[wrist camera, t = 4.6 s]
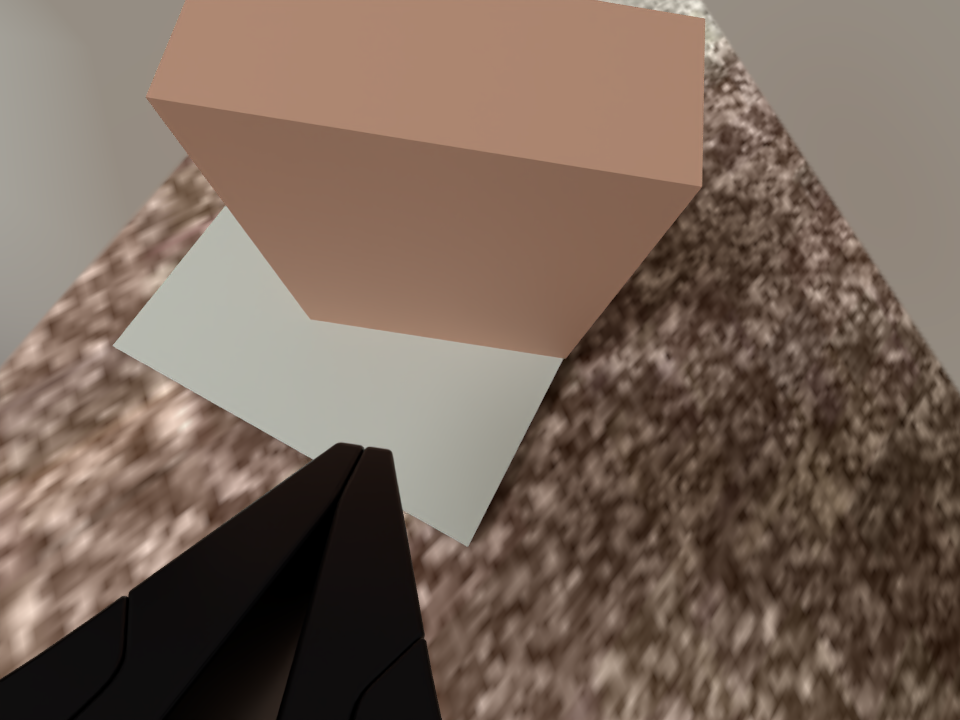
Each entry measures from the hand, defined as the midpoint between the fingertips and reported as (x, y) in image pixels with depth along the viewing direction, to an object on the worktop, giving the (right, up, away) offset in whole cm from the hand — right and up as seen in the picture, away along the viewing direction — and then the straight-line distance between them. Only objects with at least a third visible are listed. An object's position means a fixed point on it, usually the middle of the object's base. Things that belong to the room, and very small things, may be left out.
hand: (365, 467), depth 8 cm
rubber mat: (0, +8, +14) cm, 16 cm away
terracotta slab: (0, +4, +12) cm, 13 cm away
